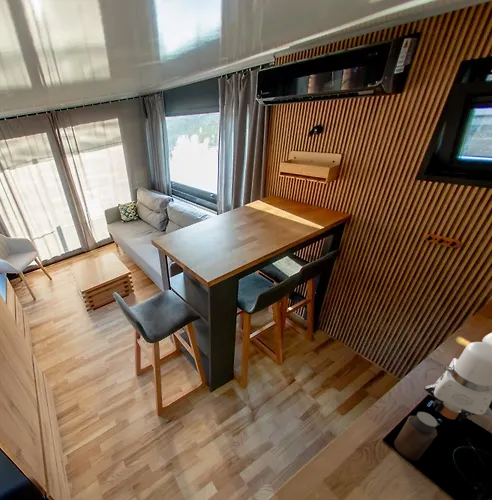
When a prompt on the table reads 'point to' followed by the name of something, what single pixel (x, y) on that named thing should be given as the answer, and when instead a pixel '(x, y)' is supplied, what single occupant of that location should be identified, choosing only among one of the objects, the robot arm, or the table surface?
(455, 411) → the orange jar cap
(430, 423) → the grey short cylinder
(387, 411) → the table surface
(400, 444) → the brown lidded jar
